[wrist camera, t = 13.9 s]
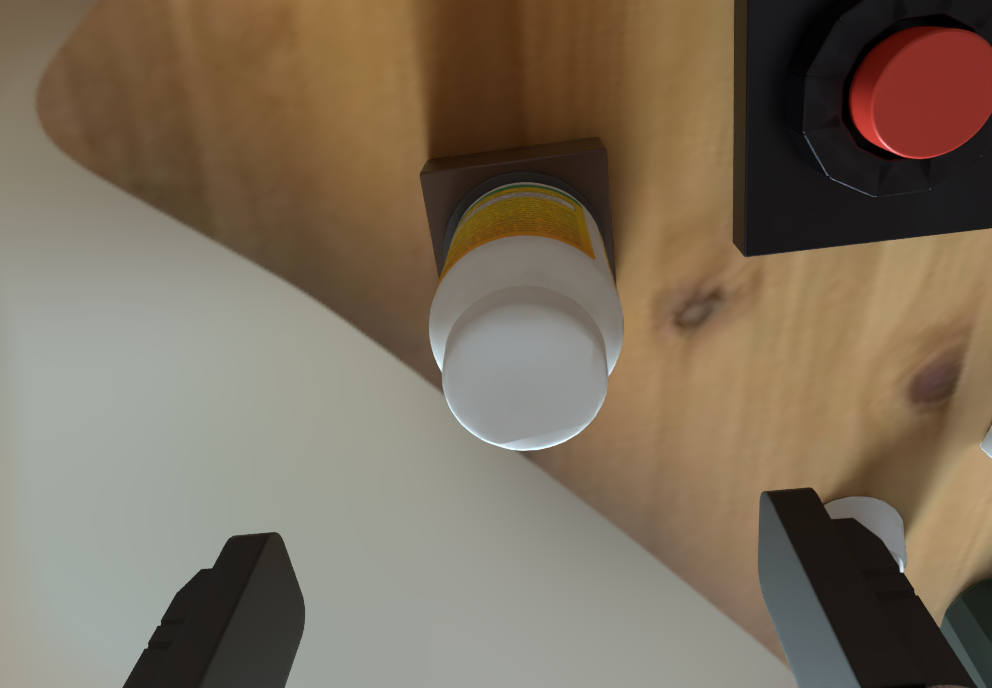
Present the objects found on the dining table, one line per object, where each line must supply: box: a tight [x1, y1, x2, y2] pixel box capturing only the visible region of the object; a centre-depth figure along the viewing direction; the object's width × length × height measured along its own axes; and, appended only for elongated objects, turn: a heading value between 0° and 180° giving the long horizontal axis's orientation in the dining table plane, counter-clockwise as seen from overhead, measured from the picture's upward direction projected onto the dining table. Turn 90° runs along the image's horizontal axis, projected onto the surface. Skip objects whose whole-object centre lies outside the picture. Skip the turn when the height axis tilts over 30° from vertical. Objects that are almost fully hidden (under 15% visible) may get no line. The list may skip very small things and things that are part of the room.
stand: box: [420, 137, 617, 288], centre depth 27 cm, size 6×6×2 cm
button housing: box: [733, 0, 992, 257], centre depth 23 cm, size 11×9×4 cm
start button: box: [848, 26, 992, 159], centre depth 21 cm, size 4×4×2 cm
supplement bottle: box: [429, 182, 624, 450], centre depth 21 cm, size 5×5×10 cm
